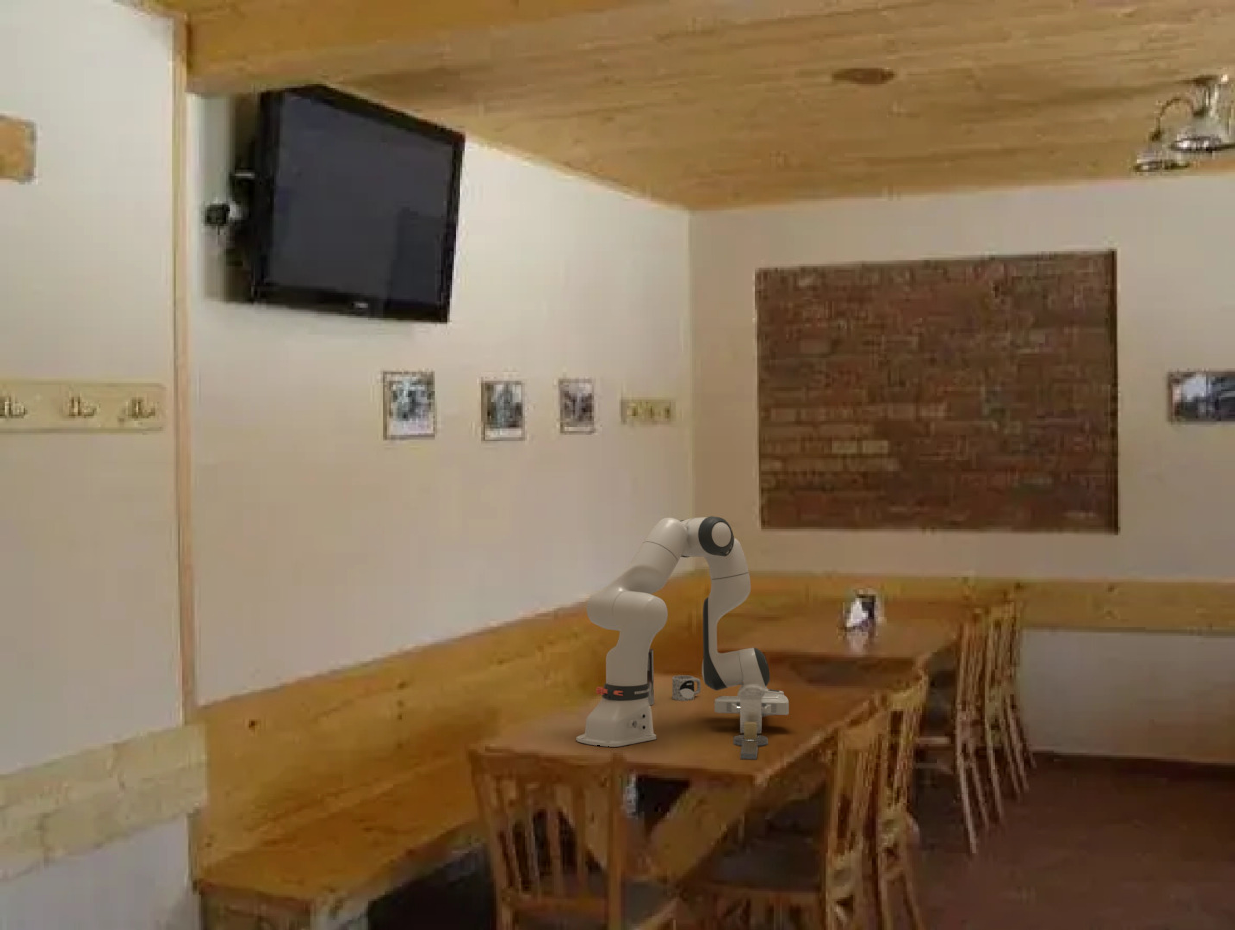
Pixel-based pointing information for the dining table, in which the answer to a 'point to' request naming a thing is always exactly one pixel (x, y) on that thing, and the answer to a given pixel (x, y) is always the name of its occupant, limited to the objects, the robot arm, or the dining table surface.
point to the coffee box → (650, 677)
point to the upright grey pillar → (750, 709)
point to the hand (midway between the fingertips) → (750, 710)
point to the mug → (684, 687)
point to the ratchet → (750, 741)
